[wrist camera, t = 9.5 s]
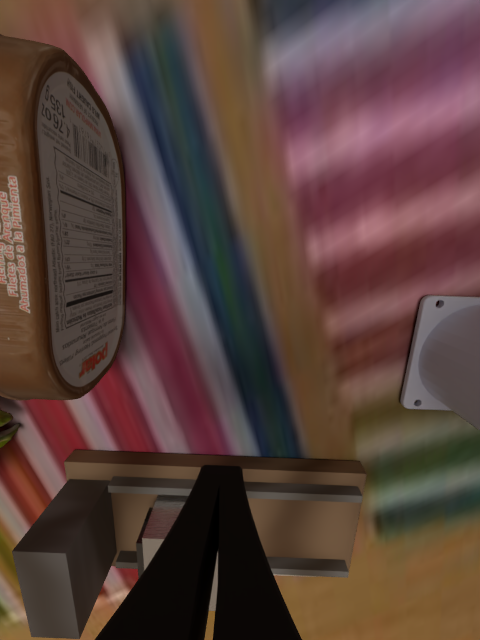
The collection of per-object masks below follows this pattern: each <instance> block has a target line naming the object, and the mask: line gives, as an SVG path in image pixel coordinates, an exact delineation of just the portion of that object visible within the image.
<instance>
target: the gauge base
mask: <svg viewBox="0 0 480 640" xmlns="http://www.w3.org/2000/svg"><path fill="white" fill-rule="evenodd" d="M64 464H65V471H66V477H67V483H66V484H65V485H64V486H63V488H62V489H61V490H60V491H59V493H58V494H57V495H56V496H55V498H54V499H53V500H52V502H51V503H50V504H49V505H48V507H47V508H46V509H45V510H44V512H43V513H42V514H41V515H40V517H39V518H38V519H37V520H36V522H35V523H34V524H33V526H32V527H31V528H30V529H29V531H28V532H27V533H26V534H25V536H24V537H23V538H22V539H21V541H20V542H19V543H18V545H17V546H16V547H15V548H14V550H13V551H12V553H13V557H14V562H15V566H16V571H17V575H18V579H19V584H20V588H21V593H22V597H23V602H24V606H25V610H26V615H27V619H28V624H29V628H30V632H31V637H46V638H70V639H80V637H81V635H82V632H83V630H84V628H85V625H86V623H87V621H88V618H89V616H90V614H91V611H92V609H93V607H94V604H95V602H96V600H97V597H98V595H99V593H100V590H101V588H102V586H103V583H104V581H105V579H106V577H107V574H108V572H109V570H110V567H111V566H116V568H132V569H138V563H137V550H136V542H137V539H138V537H139V534H140V531H141V529H142V526H143V523H144V521H145V518H146V515H147V513H148V510H149V507H151V508H153V507H154V504H155V501H156V499H157V496H158V495H181V496H189V494H190V492H191V490H192V488H193V486H194V484H195V482H196V479H197V477H198V475H199V472H200V469H201V467H202V466H204V465H223V466H240V467H241V468H242V469H243V479H244V485H245V490H246V494H247V498H248V502H249V506H250V509H251V513H252V516H253V519H254V522H255V525H256V529H257V532H258V535H259V538H260V541H261V544H262V546H263V549H264V552H265V554H266V557H267V560H268V562H269V565H270V568H271V570H272V573H273V575H286V576H310V577H318V576H324V577H348V573H349V568H350V562H351V557H352V552H353V546H354V541H355V535H356V530H357V524H358V519H359V513H360V508H361V503H362V497H363V492H364V486H365V481H366V475H367V474H366V472H365V470H364V468H363V467H362V465H361V463H360V461H343V460H318V459H293V458H268V457H243V456H218V455H193V454H168V453H143V452H118V451H94V450H74V451H73V452H72V454H71V455H70V456H69V457H68V458H67V459H66V460H65V461H64Z"/></svg>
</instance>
